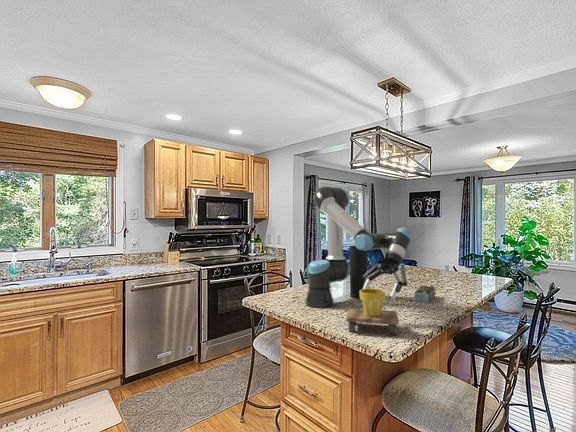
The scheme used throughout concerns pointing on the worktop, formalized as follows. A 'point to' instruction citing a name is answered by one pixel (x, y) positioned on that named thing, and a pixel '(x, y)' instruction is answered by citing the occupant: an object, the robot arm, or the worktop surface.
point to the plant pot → (372, 301)
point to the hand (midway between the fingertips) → (377, 295)
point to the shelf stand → (372, 319)
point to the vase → (357, 270)
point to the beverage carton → (425, 294)
